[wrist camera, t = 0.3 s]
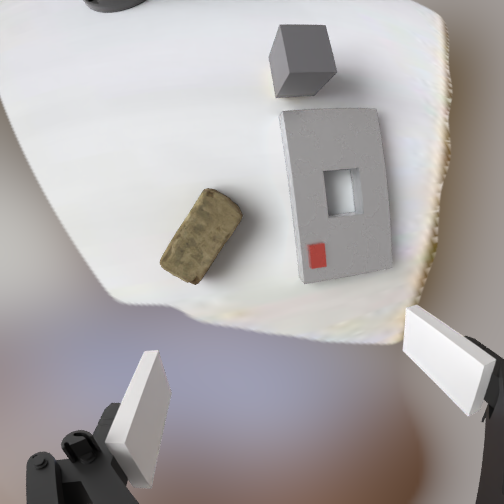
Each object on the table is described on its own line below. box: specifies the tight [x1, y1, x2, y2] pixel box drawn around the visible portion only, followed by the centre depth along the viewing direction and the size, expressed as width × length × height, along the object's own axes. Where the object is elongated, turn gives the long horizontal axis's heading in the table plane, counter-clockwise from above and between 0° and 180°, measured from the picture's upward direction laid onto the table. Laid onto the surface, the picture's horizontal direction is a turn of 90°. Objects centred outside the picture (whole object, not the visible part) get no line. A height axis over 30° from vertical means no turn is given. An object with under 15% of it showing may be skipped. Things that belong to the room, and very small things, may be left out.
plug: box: [269, 25, 337, 98], centre depth 31 cm, size 6×5×12 cm
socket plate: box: [279, 108, 392, 284], centre depth 39 cm, size 22×13×4 cm, turn 8°
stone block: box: [160, 188, 243, 285], centre depth 38 cm, size 6×12×5 cm, turn 147°
